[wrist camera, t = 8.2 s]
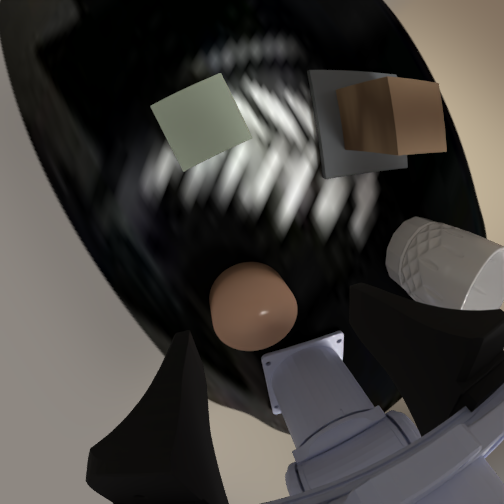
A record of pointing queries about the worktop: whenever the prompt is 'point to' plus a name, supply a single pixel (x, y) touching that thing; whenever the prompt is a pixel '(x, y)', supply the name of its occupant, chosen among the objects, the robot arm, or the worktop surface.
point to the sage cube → (201, 121)
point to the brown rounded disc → (251, 306)
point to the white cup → (446, 266)
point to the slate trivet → (330, 126)
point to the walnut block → (392, 116)
